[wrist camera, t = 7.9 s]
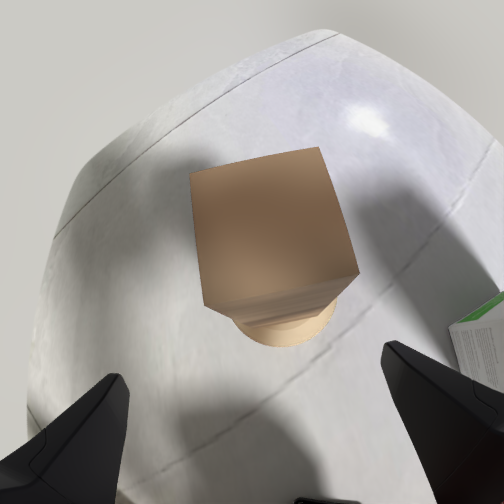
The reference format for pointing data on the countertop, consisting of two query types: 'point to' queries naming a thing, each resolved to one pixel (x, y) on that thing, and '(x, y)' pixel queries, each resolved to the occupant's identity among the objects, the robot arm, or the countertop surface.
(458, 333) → the skincare box
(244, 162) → the walnut block
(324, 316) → the plate
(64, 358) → the countertop surface
